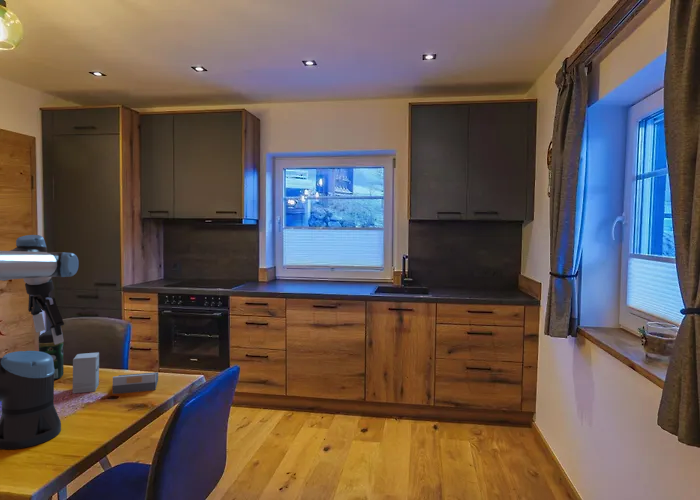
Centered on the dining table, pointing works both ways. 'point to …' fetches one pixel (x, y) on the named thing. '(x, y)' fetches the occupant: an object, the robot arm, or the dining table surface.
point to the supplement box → (85, 372)
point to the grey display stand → (135, 382)
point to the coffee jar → (52, 351)
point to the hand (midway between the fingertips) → (49, 336)
